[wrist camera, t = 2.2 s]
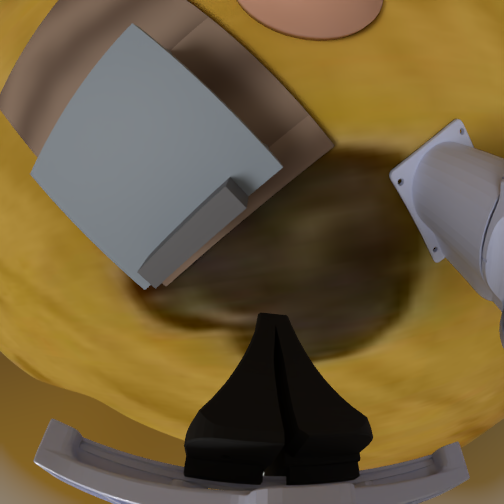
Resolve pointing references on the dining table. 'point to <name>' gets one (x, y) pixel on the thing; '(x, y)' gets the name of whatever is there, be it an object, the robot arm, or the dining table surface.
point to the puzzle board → (188, 53)
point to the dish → (313, 16)
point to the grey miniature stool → (150, 159)
